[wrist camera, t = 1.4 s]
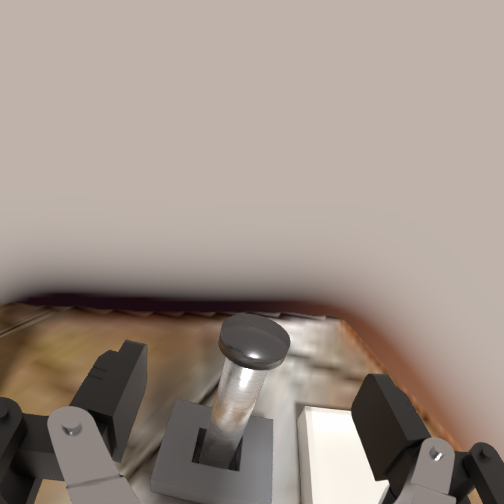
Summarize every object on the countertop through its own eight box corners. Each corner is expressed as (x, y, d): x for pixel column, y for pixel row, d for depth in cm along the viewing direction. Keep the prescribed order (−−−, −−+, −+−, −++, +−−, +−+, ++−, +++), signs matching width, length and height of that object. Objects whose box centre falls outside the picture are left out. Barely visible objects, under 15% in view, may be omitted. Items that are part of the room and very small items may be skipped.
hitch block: (150, 490, 22) (150, 479, 21) (174, 413, 32) (176, 398, 31) (262, 512, 22) (271, 502, 21) (266, 433, 33) (273, 419, 32)
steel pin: (187, 475, 25) (216, 347, 19) (195, 440, 30) (226, 307, 23) (234, 484, 25) (292, 363, 19) (238, 449, 30) (288, 322, 23)
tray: (302, 539, 20) (314, 530, 19) (296, 420, 36) (305, 405, 35) (423, 525, 20) (439, 514, 19) (394, 427, 36) (405, 414, 35)
